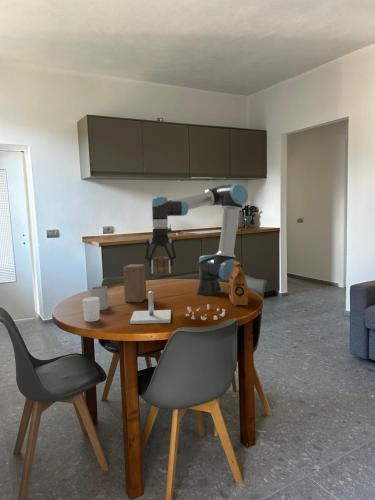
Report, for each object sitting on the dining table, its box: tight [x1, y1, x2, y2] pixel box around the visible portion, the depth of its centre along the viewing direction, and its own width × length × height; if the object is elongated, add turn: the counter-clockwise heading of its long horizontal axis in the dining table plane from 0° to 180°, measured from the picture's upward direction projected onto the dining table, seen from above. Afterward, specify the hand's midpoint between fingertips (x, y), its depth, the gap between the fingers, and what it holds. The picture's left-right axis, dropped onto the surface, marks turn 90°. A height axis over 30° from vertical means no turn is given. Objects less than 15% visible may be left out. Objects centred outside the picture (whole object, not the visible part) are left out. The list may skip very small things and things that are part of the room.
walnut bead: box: [152, 256, 170, 276], centre depth 189 cm, size 8×8×8 cm
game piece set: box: [185, 303, 226, 321], centre depth 179 cm, size 19×20×4 cm
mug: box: [90, 285, 109, 311], centre depth 196 cm, size 12×8×11 cm
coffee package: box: [228, 260, 249, 307], centre depth 197 cm, size 10×12×22 cm
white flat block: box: [129, 309, 172, 325], centre depth 175 cm, size 18×16×2 cm
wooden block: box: [123, 263, 147, 303], centre depth 209 cm, size 10×10×20 cm
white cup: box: [81, 296, 101, 322], centre depth 175 cm, size 8×8×10 cm
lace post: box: [147, 291, 155, 316], centre depth 174 cm, size 2×2×11 cm
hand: (161, 272), depth 189 cm, fingers closed on walnut bead, 8 cm apart
